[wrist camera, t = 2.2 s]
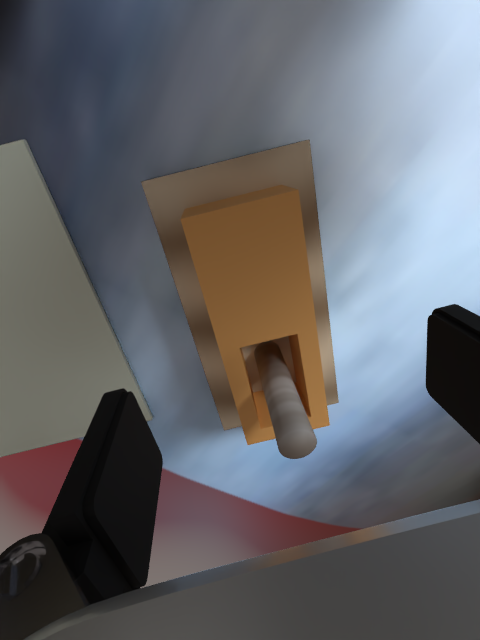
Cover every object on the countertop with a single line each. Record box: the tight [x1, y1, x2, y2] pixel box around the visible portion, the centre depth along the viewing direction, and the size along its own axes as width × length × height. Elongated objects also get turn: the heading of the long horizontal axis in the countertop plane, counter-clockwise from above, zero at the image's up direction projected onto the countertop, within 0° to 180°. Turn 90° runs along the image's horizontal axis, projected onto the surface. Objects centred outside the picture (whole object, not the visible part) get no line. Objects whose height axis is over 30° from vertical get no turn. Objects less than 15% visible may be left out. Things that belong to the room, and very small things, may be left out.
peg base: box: [141, 140, 339, 459], centre depth 20 cm, size 20×10×11 cm, turn 13°
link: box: [180, 185, 330, 445], centre depth 21 cm, size 16×6×4 cm, turn 13°
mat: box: [0, 140, 153, 457], centre depth 24 cm, size 22×14×1 cm, turn 13°
